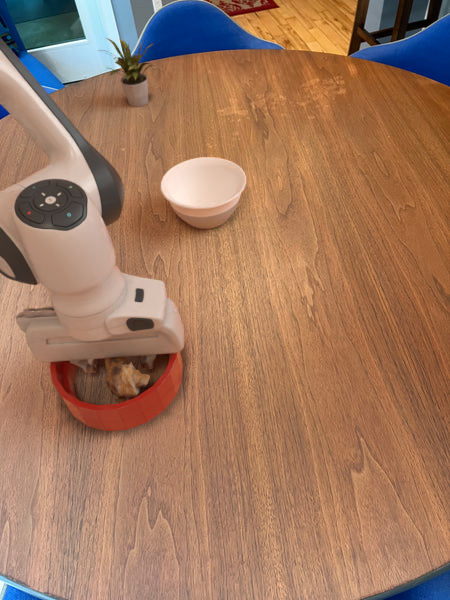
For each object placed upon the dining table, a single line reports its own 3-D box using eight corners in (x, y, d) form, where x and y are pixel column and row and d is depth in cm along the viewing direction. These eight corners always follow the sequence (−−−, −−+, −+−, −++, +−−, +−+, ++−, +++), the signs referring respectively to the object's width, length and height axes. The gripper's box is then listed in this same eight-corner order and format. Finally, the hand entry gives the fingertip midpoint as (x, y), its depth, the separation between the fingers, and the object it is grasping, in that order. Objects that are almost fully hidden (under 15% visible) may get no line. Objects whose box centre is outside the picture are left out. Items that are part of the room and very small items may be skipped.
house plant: (96, 107, 128) (78, 42, 116) (131, 85, 135) (118, 22, 123) (136, 120, 122) (121, 53, 110) (170, 96, 129) (160, 31, 117)
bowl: (208, 256, 87) (203, 219, 81) (150, 221, 95) (142, 185, 88) (264, 212, 94) (264, 175, 88) (206, 183, 102) (202, 147, 96)
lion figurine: (161, 407, 67) (150, 372, 60) (126, 425, 65) (110, 392, 59) (123, 336, 76) (109, 298, 69) (91, 350, 74) (73, 313, 67)
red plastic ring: (54, 437, 66) (37, 414, 61) (75, 334, 77) (62, 308, 72) (182, 428, 65) (175, 405, 60) (184, 326, 77) (178, 300, 72)
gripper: (3, 331, 57) (44, 391, 67) (174, 318, 56) (189, 380, 67) (16, 292, 61) (52, 354, 71) (176, 280, 61) (189, 344, 71)
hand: (119, 366), depth 69 cm, fingers open, 7 cm apart
